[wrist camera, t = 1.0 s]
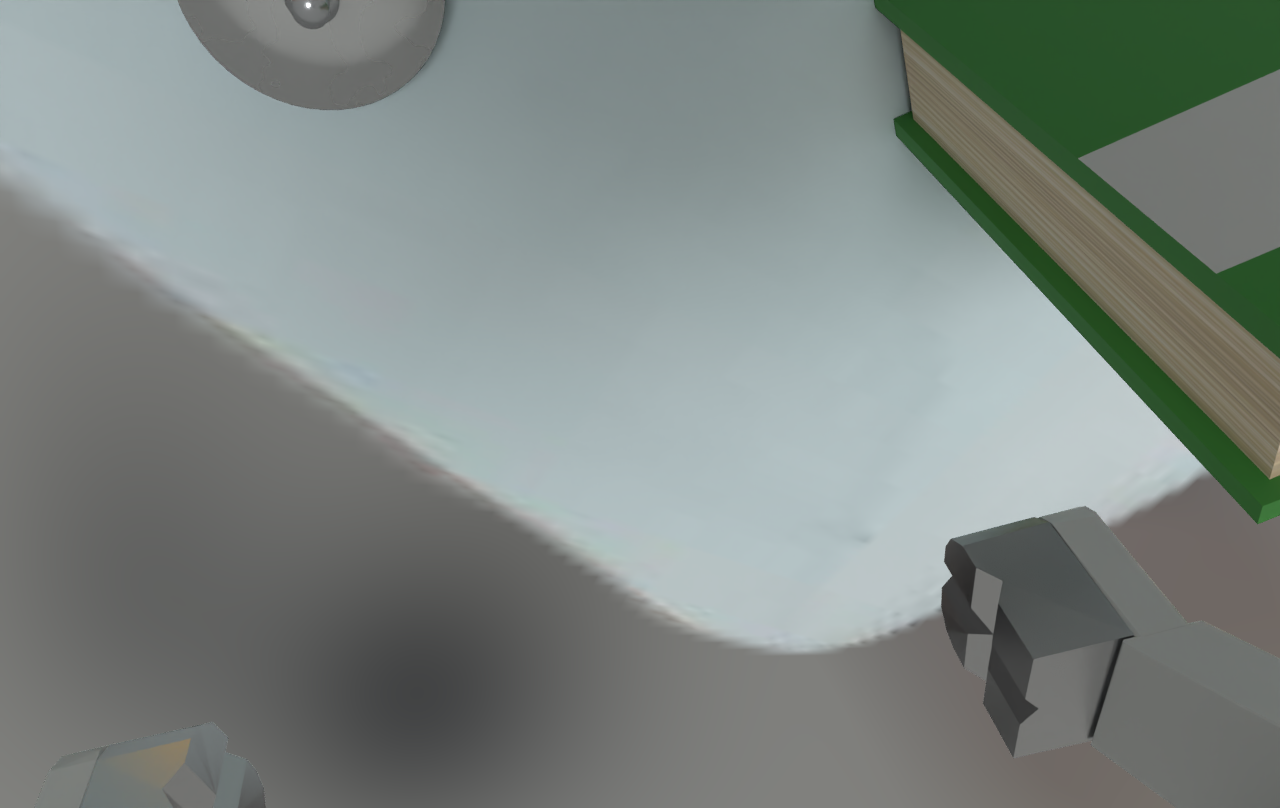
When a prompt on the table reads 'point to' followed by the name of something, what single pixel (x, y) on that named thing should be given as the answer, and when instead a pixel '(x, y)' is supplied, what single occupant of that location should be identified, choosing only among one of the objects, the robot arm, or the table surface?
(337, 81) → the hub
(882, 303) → the table surface
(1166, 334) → the hardback book
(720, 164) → the table surface
